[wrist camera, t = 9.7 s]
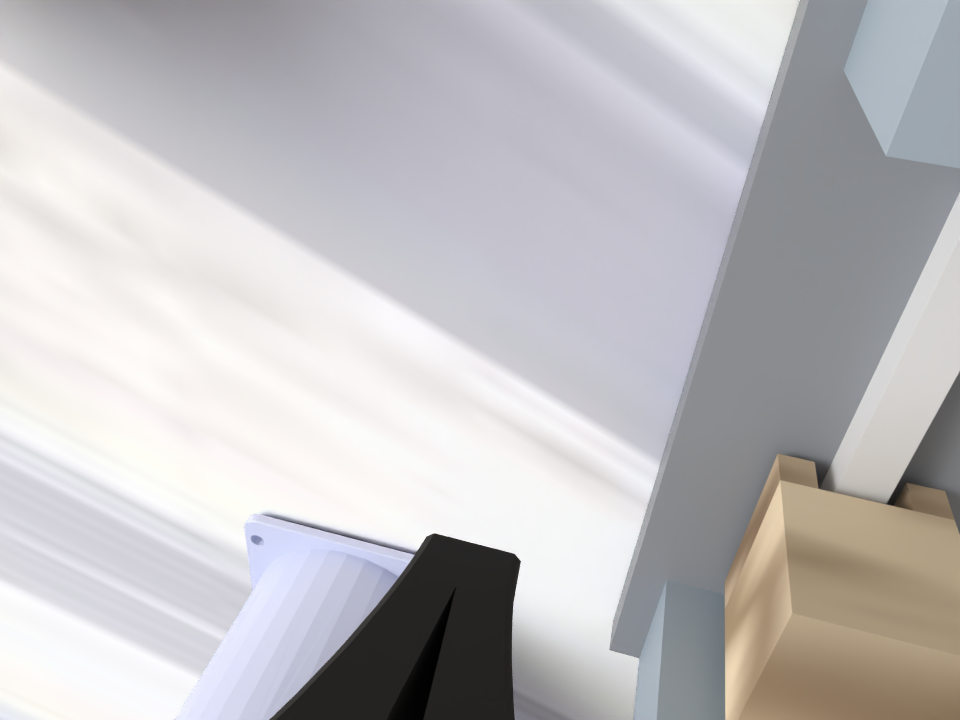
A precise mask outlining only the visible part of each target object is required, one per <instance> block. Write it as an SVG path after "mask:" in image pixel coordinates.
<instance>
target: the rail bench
mask: <svg viewBox="0 0 960 720" xmlns="http://www.w3.org/2000/svg"><path fill="white" fill-rule="evenodd" d="M777 454H782V455H786V456H791V457H795V458H800V459H804V460H808V461H813V462H815V468H816V475H817V482H818V489H821V490H825V491H830V492H834V493H838V494H843V495H847V496H851V497H856V498H860V499H864V500H869V501H873V502H877V503H882V504H886V505H891V506H894V504H895V502H896V501H897V499H898V497H899V495H900V493H901V492H902V490H903V488H904V486H905V484H906V483H911V484H915V485H920V486H924V487H929V488H933V489H937V490H942V491H945V492H946V495H947V498H948V501H949V504H950V507H951V510H952V513H953V516H954V519H955V522H956V525H957V528H958V531H959V534H960V0H800V2H799V6H798V9H797V12H796V16H795V19H794V22H793V26H792V29H791V32H790V36H789V39H788V42H787V46H786V49H785V52H784V56H783V59H782V62H781V66H780V69H779V72H778V76H777V79H776V82H775V85H774V89H773V92H772V95H771V99H770V102H769V105H768V109H767V112H766V115H765V119H764V122H763V125H762V129H761V132H760V135H759V139H758V142H757V145H756V149H755V152H754V155H753V159H752V162H751V165H750V169H749V172H748V175H747V179H746V182H745V185H744V188H743V192H742V195H741V198H740V202H739V205H738V208H737V212H736V215H735V218H734V222H733V225H732V228H731V232H730V235H729V238H728V242H727V245H726V248H725V252H724V255H723V258H722V262H721V265H720V268H719V272H718V275H717V278H716V282H715V285H714V288H713V292H712V295H711V298H710V301H709V305H708V308H707V311H706V315H705V318H704V321H703V325H702V328H701V331H700V335H699V338H698V341H697V345H696V348H695V351H694V355H693V358H692V361H691V365H690V368H689V371H688V375H687V378H686V381H685V385H684V388H683V391H682V395H681V398H680V401H679V404H678V408H677V411H676V414H675V418H674V421H673V424H672V428H671V431H670V434H669V438H668V441H667V444H666V448H665V451H664V454H663V458H662V461H661V464H660V468H659V471H658V474H657V478H656V481H655V484H654V488H653V491H652V494H651V498H650V501H649V504H648V507H647V511H646V514H645V517H644V521H643V524H642V527H641V531H640V534H639V537H638V541H637V544H636V547H635V551H634V554H633V557H632V561H631V564H630V567H629V571H628V574H627V577H626V581H625V584H624V587H623V591H622V594H621V597H620V601H619V604H618V607H617V611H616V614H615V617H614V620H613V628H612V635H611V643H610V650H611V651H615V652H619V653H623V654H626V655H630V656H634V657H637V658H639V668H638V678H637V688H636V698H635V709H634V719H633V720H725V580H726V577H727V575H728V573H729V570H730V568H731V565H732V563H733V561H734V558H735V556H736V553H737V551H738V548H739V546H740V544H741V541H742V539H743V536H744V534H745V532H746V529H747V527H748V524H749V522H750V520H751V517H752V515H753V512H754V510H755V507H756V505H757V503H758V500H759V498H760V495H761V493H762V491H763V488H764V486H765V483H766V481H767V479H768V476H769V474H770V471H771V469H772V466H773V464H774V462H775V459H776V457H777Z"/></svg>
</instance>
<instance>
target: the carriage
mask: <svg viewBox="0 0 960 720" xmlns="http://www.w3.org/2000/svg"><path fill="white" fill-rule="evenodd" d="M725 720H960V534H959V531H958V528H957V525H956V522H955V519H954V516H953V513H952V510H951V507H950V504H949V501H948V498H947V495H946V492H945V491H942V490H937V489H933V488H929V487H924V486H920V485H915V484H911V483H906V484H905V486H904V488H903V490H902V492H901V493H900V495H899V497H898V499H897V501H896V502H895V504H894V506H891V505H886V504H882V503H877V502H873V501H869V500H864V499H860V498H856V497H851V496H847V495H843V494H838V493H834V492H830V491H825V490H821V489H818V482H817V475H816V468H815V462H813V461H808V460H804V459H800V458H795V457H791V456H786V455H782V454H777V457H776V459H775V462H774V464H773V466H772V469H771V471H770V474H769V476H768V479H767V481H766V483H765V486H764V488H763V491H762V493H761V495H760V498H759V500H758V503H757V505H756V507H755V510H754V512H753V515H752V517H751V520H750V522H749V524H748V527H747V529H746V532H745V534H744V536H743V539H742V541H741V544H740V546H739V548H738V551H737V553H736V556H735V558H734V561H733V563H732V565H731V568H730V570H729V573H728V575H727V577H726V580H725Z"/></svg>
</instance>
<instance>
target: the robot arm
mask: <svg viewBox="0 0 960 720" xmlns="http://www.w3.org/2000/svg"><path fill="white" fill-rule="evenodd" d="M244 528H245V536H246V544H247V552H248V560H249V568H250V576H251V584H252V593H251V595H250V596H249V598H248V600H247V601H246V603H245V605H244V606H243V608H242V610H241V611H240V613H239V614H238V616H237V618H236V619H235V621H234V623H233V624H232V626H231V628H230V629H229V631H228V633H227V634H226V636H225V637H224V639H223V641H222V642H221V644H220V646H219V647H218V649H217V651H216V652H215V654H214V656H213V657H212V659H211V660H210V662H209V664H208V665H207V667H206V669H205V670H204V672H203V674H202V675H201V677H200V679H199V680H198V682H197V683H196V685H195V687H194V688H193V690H192V692H191V693H190V695H189V697H188V698H187V700H186V702H185V703H184V705H183V706H182V708H181V710H180V711H179V713H178V715H177V716H176V718H175V720H515V719H514V705H513V681H512V615H513V602H514V596H515V590H516V585H517V579H518V574H519V568H520V562H521V561H520V560H519V559H518V558H517V556H516V555H515V554H513V553H509V552H505V551H501V550H497V549H493V548H489V547H486V546H482V545H478V544H474V543H470V542H466V541H462V540H458V539H454V538H450V537H447V536H443V535H439V534H435V533H434V534H432V535H430V536H427V537H426V539H425V540H424V542H423V543H422V545H421V546H420V548H419V550H418V551H417V553H416V554H415V555H413V554H410V553H406V552H402V551H398V550H394V549H390V548H387V547H383V546H379V545H375V544H371V543H367V542H364V541H360V540H356V539H352V538H348V537H345V536H341V535H337V534H333V533H329V532H325V531H322V530H318V529H314V528H310V527H306V526H303V525H299V524H295V523H291V522H287V521H283V520H280V519H276V518H272V517H268V516H264V515H260V514H253V515H251V516H250V517H249V518H248V519H247V521H246V522H245V525H244Z"/></svg>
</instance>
